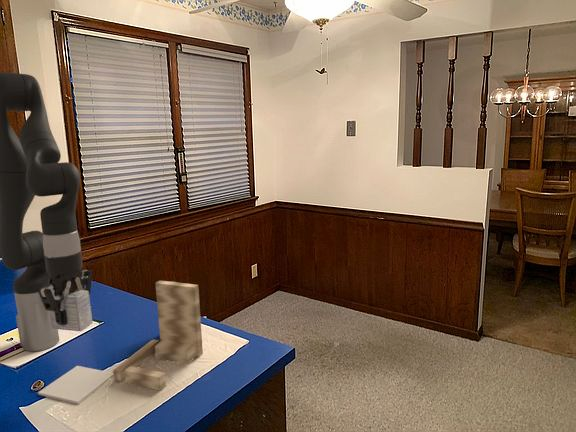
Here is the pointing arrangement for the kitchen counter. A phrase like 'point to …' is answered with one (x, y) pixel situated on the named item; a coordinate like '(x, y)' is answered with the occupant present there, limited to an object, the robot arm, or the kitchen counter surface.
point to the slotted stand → (168, 335)
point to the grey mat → (76, 384)
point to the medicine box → (75, 312)
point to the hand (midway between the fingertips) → (71, 319)
